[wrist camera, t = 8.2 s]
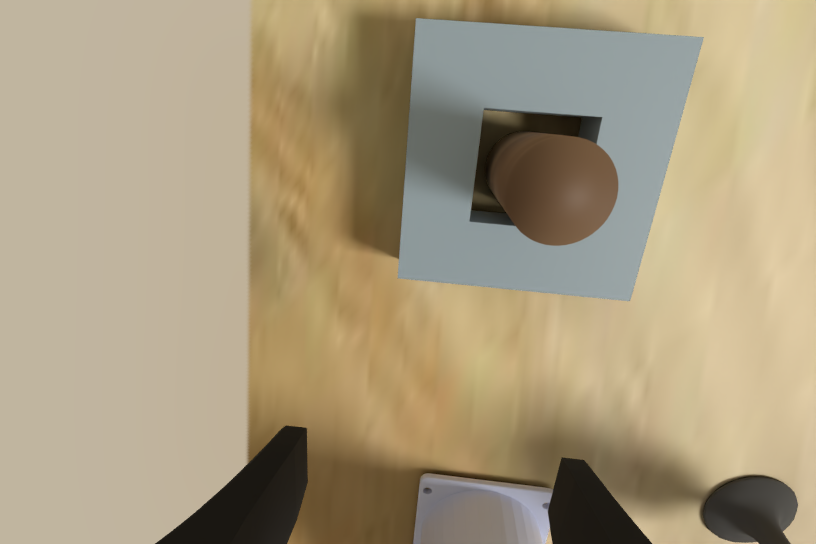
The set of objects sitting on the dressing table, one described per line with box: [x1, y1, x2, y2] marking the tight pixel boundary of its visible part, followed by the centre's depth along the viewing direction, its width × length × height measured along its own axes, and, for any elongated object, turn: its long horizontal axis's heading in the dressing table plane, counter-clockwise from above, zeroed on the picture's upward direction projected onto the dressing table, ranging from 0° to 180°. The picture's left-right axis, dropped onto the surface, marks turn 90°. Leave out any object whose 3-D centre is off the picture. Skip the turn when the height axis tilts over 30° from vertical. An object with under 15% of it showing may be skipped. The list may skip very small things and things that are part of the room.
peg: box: [485, 131, 618, 246], centre depth 16 cm, size 3×3×7 cm
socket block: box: [398, 18, 704, 301], centre depth 18 cm, size 10×10×2 cm
